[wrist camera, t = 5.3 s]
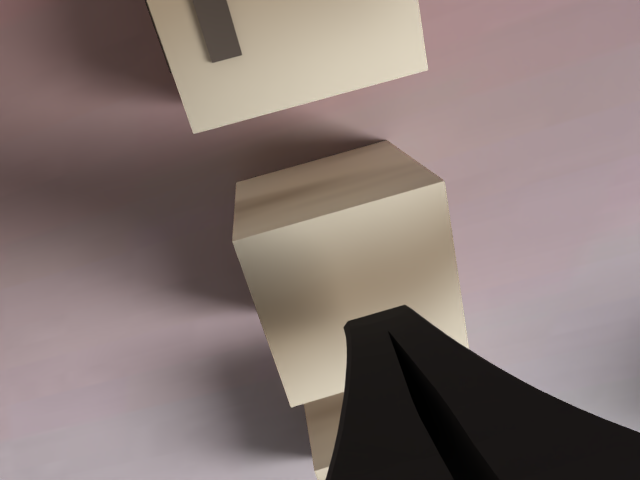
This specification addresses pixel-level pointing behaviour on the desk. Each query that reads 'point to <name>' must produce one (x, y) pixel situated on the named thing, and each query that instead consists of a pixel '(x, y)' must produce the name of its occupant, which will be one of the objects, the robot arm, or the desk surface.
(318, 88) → the birch block marked 7
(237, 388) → the desk surface
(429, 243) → the plain birch block
